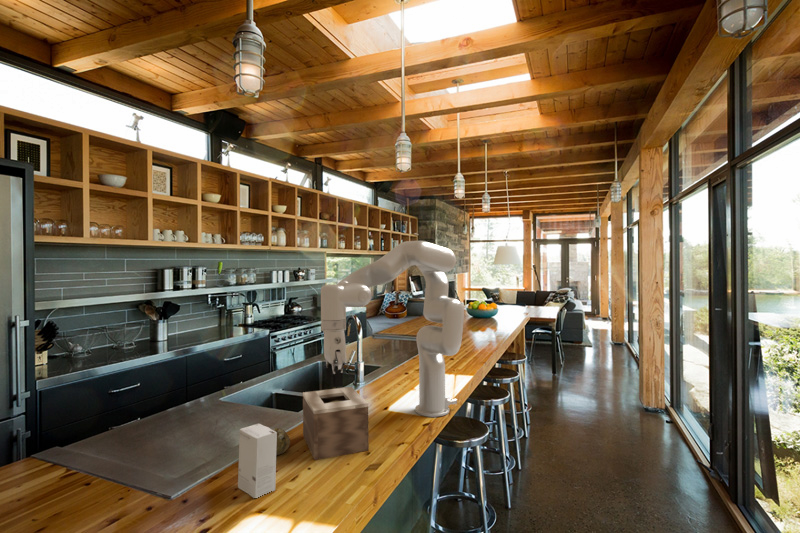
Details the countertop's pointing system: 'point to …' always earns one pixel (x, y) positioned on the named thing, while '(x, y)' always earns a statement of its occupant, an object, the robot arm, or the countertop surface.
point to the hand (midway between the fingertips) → (334, 382)
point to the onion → (282, 441)
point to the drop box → (335, 422)
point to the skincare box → (257, 460)
